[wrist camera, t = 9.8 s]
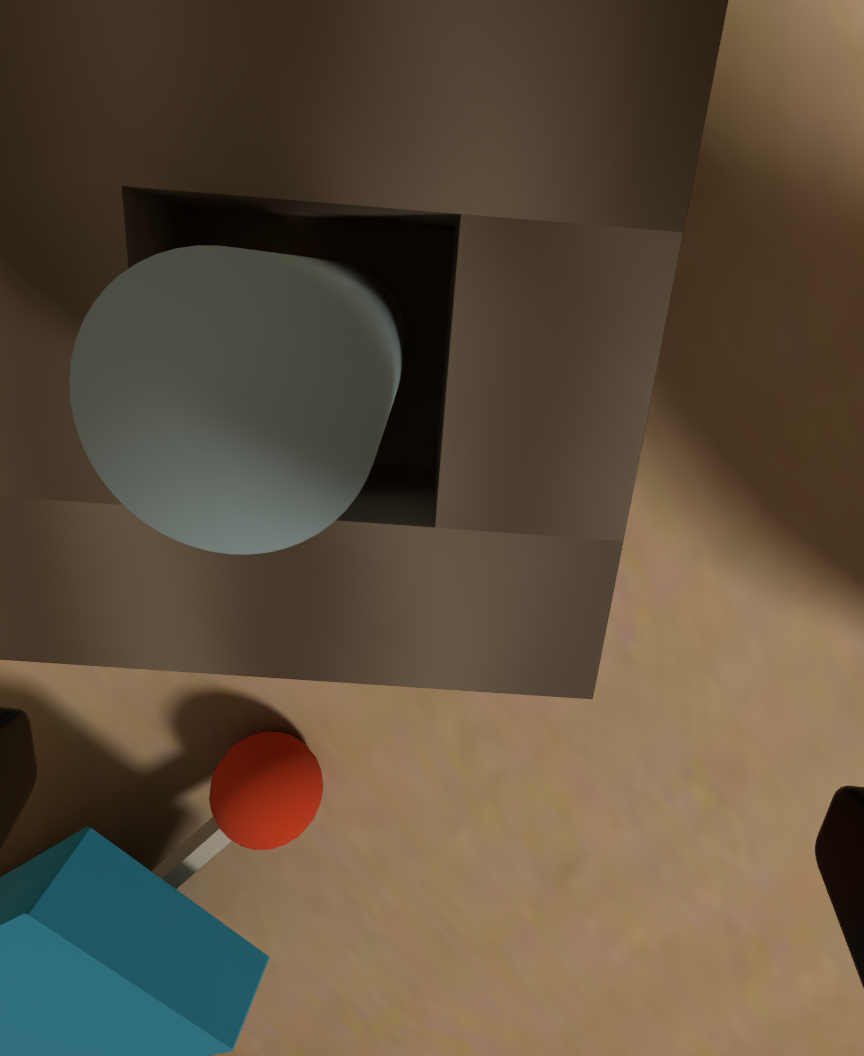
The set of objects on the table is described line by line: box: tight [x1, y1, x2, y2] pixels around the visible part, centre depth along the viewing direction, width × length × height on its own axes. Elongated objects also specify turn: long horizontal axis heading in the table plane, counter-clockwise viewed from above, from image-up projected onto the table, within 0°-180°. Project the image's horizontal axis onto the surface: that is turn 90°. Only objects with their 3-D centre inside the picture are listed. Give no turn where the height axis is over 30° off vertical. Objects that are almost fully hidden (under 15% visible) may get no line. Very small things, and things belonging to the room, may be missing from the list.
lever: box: [0, 731, 323, 1056], centre depth 23 cm, size 7×7×18 cm
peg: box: [69, 245, 408, 555], centre depth 13 cm, size 4×4×9 cm
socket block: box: [0, 0, 728, 699], centre depth 15 cm, size 14×14×4 cm
